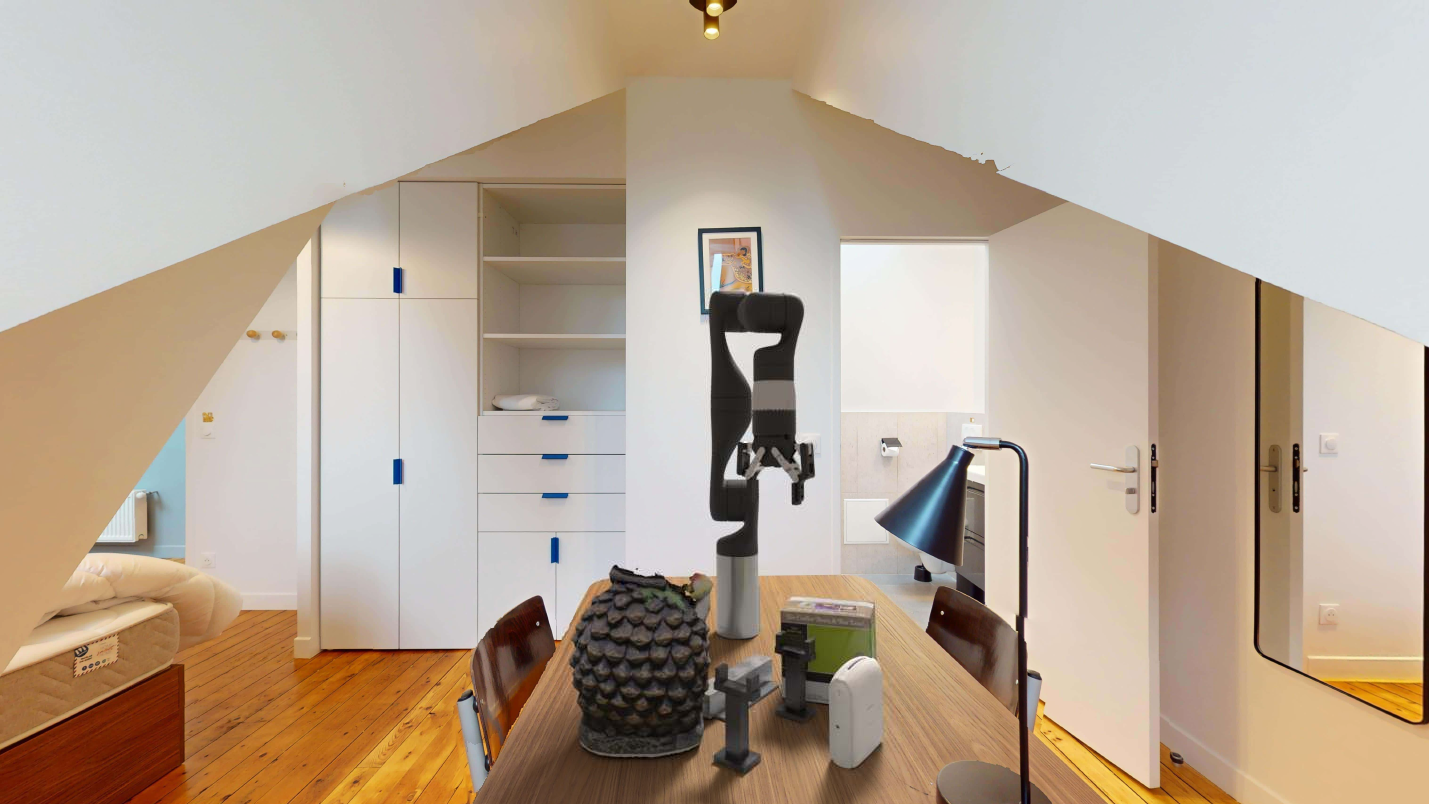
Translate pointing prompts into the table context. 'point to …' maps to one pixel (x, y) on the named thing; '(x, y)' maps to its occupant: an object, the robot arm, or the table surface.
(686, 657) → the scaly pinecone sculpture
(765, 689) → the pad
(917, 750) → the table surface
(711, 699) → the rail
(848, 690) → the photo printer
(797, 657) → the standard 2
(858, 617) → the tea box
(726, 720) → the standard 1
